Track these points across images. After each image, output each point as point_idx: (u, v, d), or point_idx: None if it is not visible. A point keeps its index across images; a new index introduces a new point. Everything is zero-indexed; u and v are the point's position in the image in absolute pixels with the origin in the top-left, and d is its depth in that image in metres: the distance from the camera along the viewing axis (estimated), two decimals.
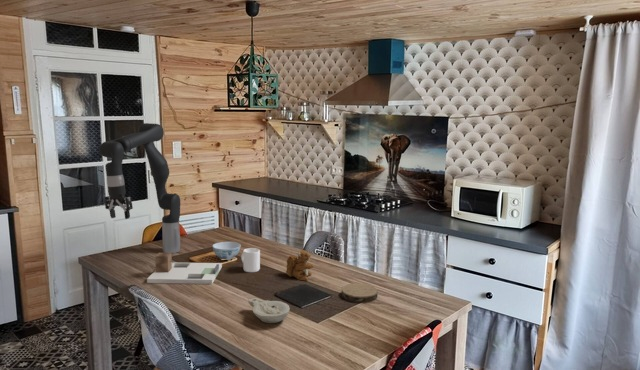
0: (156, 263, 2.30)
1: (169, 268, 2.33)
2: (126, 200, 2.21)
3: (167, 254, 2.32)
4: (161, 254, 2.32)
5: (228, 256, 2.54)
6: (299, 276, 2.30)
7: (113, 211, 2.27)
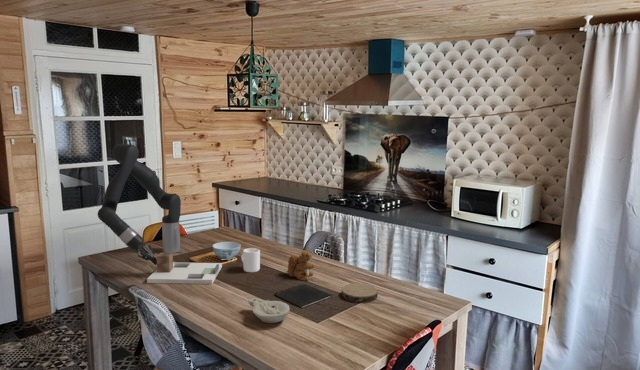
0: (157, 263, 2.30)
1: (170, 268, 2.33)
2: None
3: (168, 254, 2.32)
4: (162, 254, 2.32)
5: (228, 256, 2.54)
6: (300, 276, 2.30)
7: None
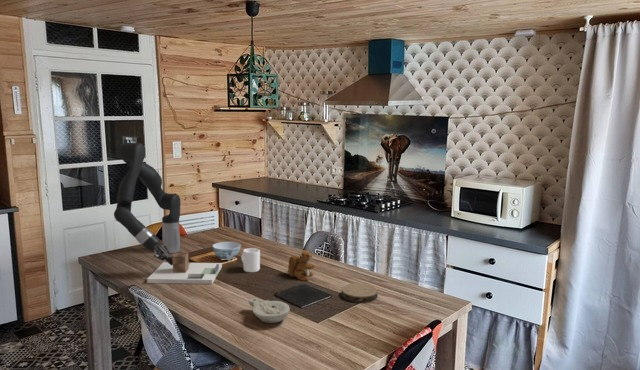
0: (173, 263, 2.30)
1: (186, 268, 2.33)
2: None
3: (184, 254, 2.32)
4: (178, 254, 2.32)
5: (228, 256, 2.54)
6: (300, 276, 2.30)
7: None
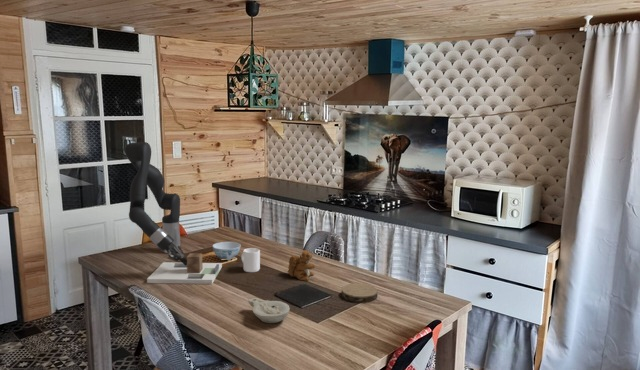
0: (187, 263, 2.30)
1: (200, 269, 2.33)
2: None
3: (198, 255, 2.32)
4: (192, 255, 2.32)
5: (228, 256, 2.54)
6: (300, 276, 2.30)
7: None
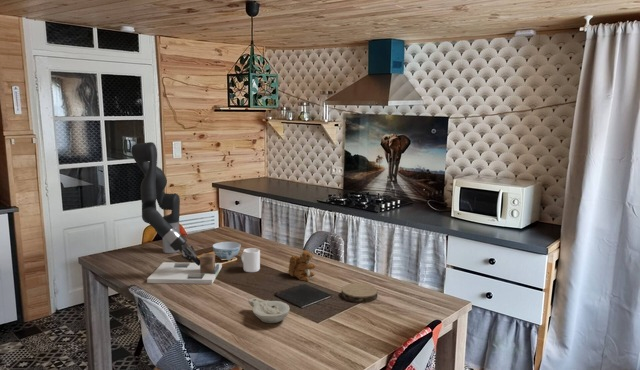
0: (200, 264, 2.30)
1: (213, 269, 2.33)
2: None
3: (211, 255, 2.33)
4: (205, 255, 2.32)
5: (228, 256, 2.54)
6: (300, 276, 2.30)
7: None
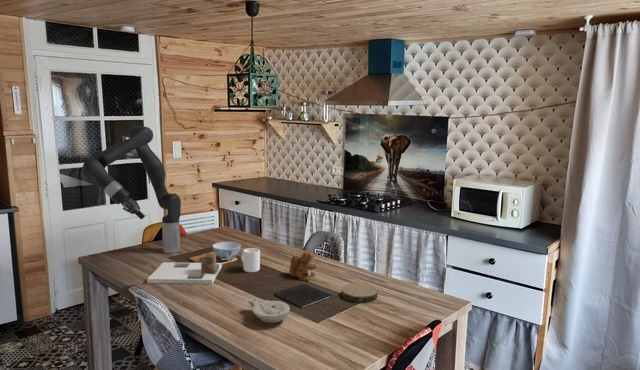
0: (201, 264, 2.30)
1: None
2: None
3: (212, 255, 2.33)
4: (206, 255, 2.32)
5: (228, 256, 2.54)
6: (301, 276, 2.30)
7: None
